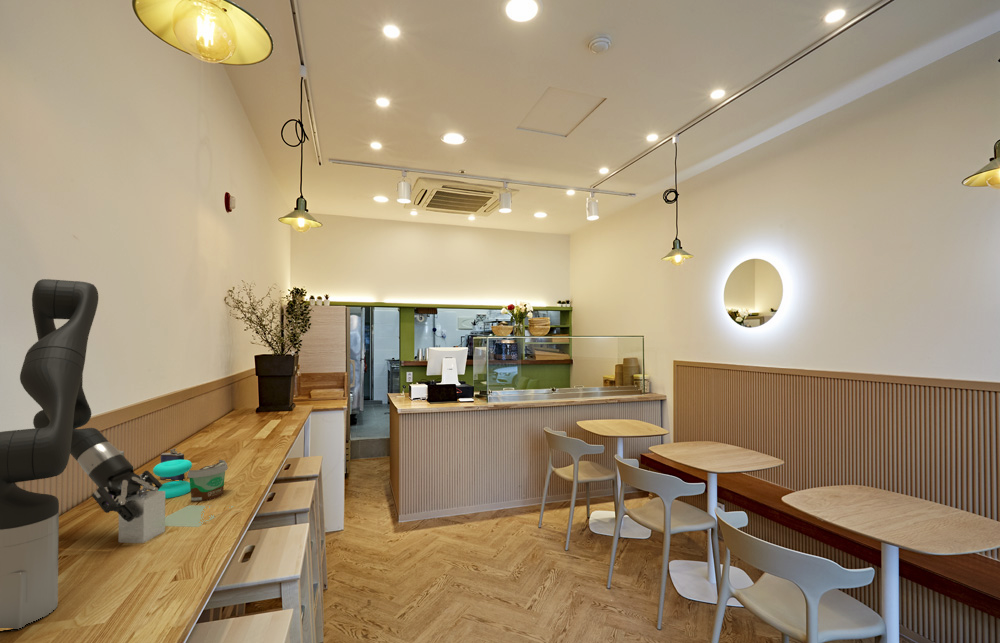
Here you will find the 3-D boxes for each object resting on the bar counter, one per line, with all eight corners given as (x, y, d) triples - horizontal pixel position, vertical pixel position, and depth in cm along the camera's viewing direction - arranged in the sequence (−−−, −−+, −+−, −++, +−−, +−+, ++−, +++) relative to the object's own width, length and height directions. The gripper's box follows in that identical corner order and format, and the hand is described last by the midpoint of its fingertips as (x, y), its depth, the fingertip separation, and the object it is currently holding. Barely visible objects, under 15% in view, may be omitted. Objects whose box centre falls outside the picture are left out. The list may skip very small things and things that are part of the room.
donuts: (199, 459, 148) (172, 468, 138) (199, 490, 148) (172, 501, 138) (173, 457, 150) (144, 466, 140) (173, 488, 149) (144, 499, 139)
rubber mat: (198, 528, 118) (198, 526, 118) (147, 527, 119) (147, 525, 119) (234, 507, 132) (234, 506, 132) (188, 506, 133) (188, 505, 133)
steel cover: (143, 544, 109) (143, 495, 110) (118, 543, 110) (118, 494, 110) (165, 532, 116) (165, 486, 116) (141, 532, 116) (141, 486, 116)
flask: (158, 480, 158) (158, 448, 159) (166, 477, 161) (166, 446, 162) (179, 481, 156) (180, 450, 157) (187, 479, 159) (187, 448, 159)
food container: (204, 506, 133) (205, 471, 134) (187, 504, 135) (187, 470, 135) (237, 491, 146) (237, 460, 146) (220, 490, 147) (220, 459, 147)
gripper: (87, 462, 107) (132, 512, 105) (140, 447, 121) (180, 491, 120) (66, 484, 107) (111, 535, 106) (121, 466, 121) (161, 511, 120)
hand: (148, 511), depth 113 cm, fingers open, 8 cm apart
